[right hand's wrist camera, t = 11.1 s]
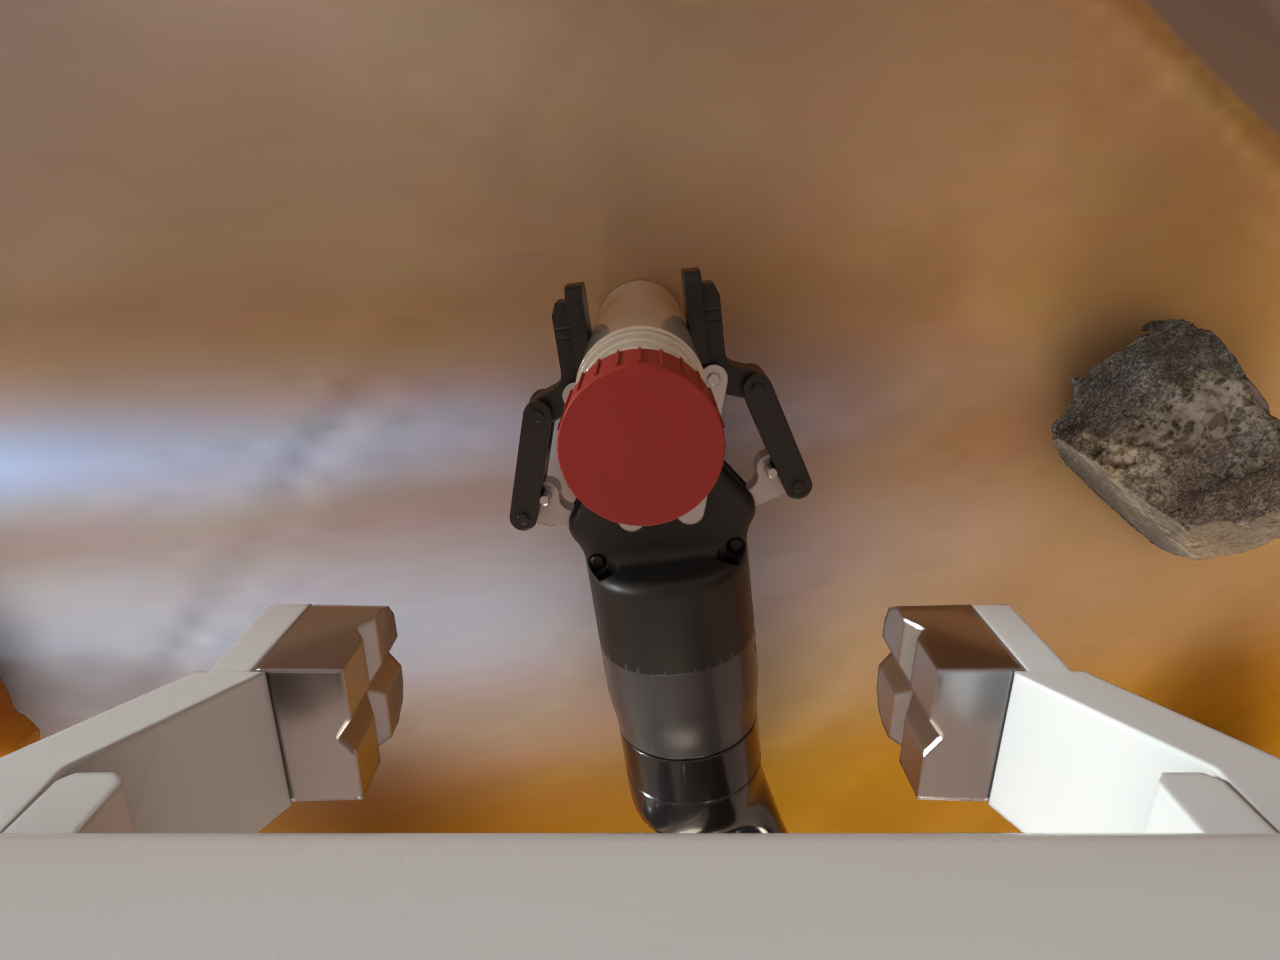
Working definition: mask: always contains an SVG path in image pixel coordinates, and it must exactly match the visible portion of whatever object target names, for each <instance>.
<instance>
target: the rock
mask: <svg viewBox="0 0 1280 960" xmlns="http://www.w3.org/2000/svg"><path fill="white" fill-rule="evenodd" d="M1142 329H1143V331H1147V330H1156V329H1157V330H1156V331H1159V332H1157V333H1152V334H1150V335H1149V334H1146V336H1145V337H1143V336H1142V337H1140V338H1138V339H1137V340H1135V341H1133V342H1131V343H1130V344H1128V346H1126V347H1127V349H1126V350H1121V351H1117V352H1115V353H1114V354H1112V356H1111V357H1109V358H1107V359H1105V360H1103V361H1101V362H1100V364H1098V365H1097V366H1095V367H1094V368H1092V369H1091V370H1090V371H1089V373H1088V374H1087V375H1086V376H1083V377H1081V378H1077V379H1076V378H1073V379H1071V382H1070V383H1071V387H1072V388H1073V390H1074V391H1073V397H1072V402H1071V404H1070V405H1069V406H1068V407H1069V408H1068V409H1067V413H1066V414H1063V415H1062V416H1061V417H1060V419H1059V420H1056V422H1055V423H1053V424H1052V433H1054V437H1053V438H1052V439H1051V440H1052V442H1053V443H1054V444H1055V446H1057V448H1058V449H1057V450H1059V451H1060V453H1059V454H1062V456H1060V457H1062V459H1063V460H1064V462H1065V463H1066V466H1068V467H1071V468H1070V469H1072V471H1074V472H1075V473H1076V474H1077V475H1078V476H1079V477H1080V478H1082V480H1084V481H1085V483H1087V484H1088V486H1089V488H1091V489H1093V490H1094V492H1095V493H1096V494H1097V495H1098V496H1100V497H1101V499H1103V500H1104V501H1105V502H1106V503H1108V505H1110V506H1111V508H1112V509H1113V510H1115V511H1116V512H1117V513H1118V514H1120V516H1122V518H1123V519H1124V520H1127V521H1128V523H1129V524H1130V525H1131V526H1133V527H1134V528H1136V530H1137V531H1139V532H1140V533H1142V534H1143V535H1145V537H1146V538H1148V539H1149V541H1150V542H1151V543H1152V544H1155V545H1156V546H1157V547H1159V548H1161V549H1163V550H1165V551H1167V552H1169V553H1172V554H1174V555H1179V556H1182V557H1187V558H1190V559H1193V560H1201V559H1212V558H1215V557H1220V556H1226V555H1231V554H1237V553H1241V552H1244V551H1248V550H1251V549H1255V548H1258V547H1261V546H1263V545H1265V544H1267V543H1269V542H1270V541H1271V540H1273V539H1274V538H1280V420H1279V419H1277V418H1276V417H1274V416H1272V415H1271V414H1270V412H1269V405H1268V404H1267V402H1266V400H1265V399H1264V398H1263V396H1262V395H1261V393H1260V392H1259V390H1258V389H1257V388H1256V387H1255V386H1254V384H1253V383H1252V382H1251V381H1250V380H1249V379H1248V378H1247V377H1246V375H1245V373H1244V371H1243V369H1242V368H1241V366H1240V365H1239V364H1238V362H1237V359H1236V358H1235V356H1234V355H1233V354H1232V353H1231V352H1229V350H1228V349H1227V347H1226V346H1225V345H1224V344H1223V342H1222V341H1221V340H1220V339H1219V338H1218V337H1217V336H1216V335H1215V334H1214V333H1213V332H1212V331H1210V330H1204V329H1198V328H1196V327H1195V325H1194V324H1193V323H1190V322H1188V321H1184V320H1182V319H1181V320H1175V319H1174V320H1170V319H1169V320H1167V321H1166V320H1165V321H1163V320H1162V321H1160V320H1158V321H1155V322H1154V321H1151V322H1149V324H1145V325H1144V326H1143V327H1142ZM1142 329H1141V330H1142ZM1160 330H1161V331H1160ZM1162 330H1164V331H1162ZM1057 435H1059V436H1058V437H1060V439H1058V438H1057ZM1185 527H1186V528H1189V530H1187V529H1186V528H1185Z"/></svg>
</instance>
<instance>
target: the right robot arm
mask: <svg viewBox="0 0 1280 960" xmlns="http://www.w3.org/2000/svg"><path fill="white" fill-rule="evenodd" d="M396 638H397V630H396V624H395V618H394V613H393V612H392V611H391V609H390V608H389V606H354V605H311V604H289V605H273V606H269V607H268V608H267V609H266V610H265V611H264V612H263V613H262V614H261V615H260V616H259V617H258V619H257V620H256V621H255V622H254V623H253V624H252V625H251V626H250V627H249V628H248V629H247V630H246V631H245V633H244V634H243V635H242V636H241V637H240V638H239V639H238V640H237V641H236V642H235V643H234V644H233V645H232V646H231V648H230V649H229V650H228V651H227V652H226V653H225V654H224V655H223V656H222V657H221V658H220V659H219V660H218V662H217V663H216V664H215V665H214V666H213V667H212V668H211V669H210V670H209V671H195V672H193V673H191V674H189V675H186V676H184V677H182V678H180V679H177V680H175V681H173V682H171V683H168V684H166V685H164V686H162V687H159V688H157V689H155V690H153V691H150V692H148V693H146V694H144V695H141V696H139V697H137V698H134V699H132V700H130V701H128V702H125V703H123V704H121V705H119V706H116V707H114V708H112V709H110V710H107V711H105V712H103V713H101V714H98V715H96V716H94V717H92V718H89V719H87V720H85V721H83V722H80V723H78V724H76V725H73V726H71V727H69V728H67V729H64V730H62V731H60V732H58V733H55V734H53V735H51V736H49V737H46V738H44V739H42V740H40V741H37V742H35V743H33V744H31V745H28V746H26V747H24V748H22V749H19V750H17V751H15V752H12V753H10V754H8V755H6V756H3V757H1V758H0V960H1280V758H1278V757H1276V756H1274V755H1271V754H1269V753H1267V752H1265V751H1262V750H1260V749H1258V748H1256V747H1253V746H1251V745H1249V744H1247V743H1244V742H1242V741H1240V740H1238V739H1235V738H1233V737H1231V736H1229V735H1226V734H1224V733H1222V732H1220V731H1217V730H1215V729H1213V728H1211V727H1208V726H1206V725H1204V724H1202V723H1199V722H1197V721H1195V720H1193V719H1190V718H1188V717H1186V716H1184V715H1181V714H1179V713H1177V712H1175V711H1172V710H1170V709H1168V708H1166V707H1163V706H1161V705H1159V704H1157V703H1154V702H1152V701H1150V700H1148V699H1145V698H1143V697H1141V696H1139V695H1136V694H1134V693H1132V692H1130V691H1127V690H1125V689H1123V688H1121V687H1118V686H1116V685H1114V684H1112V683H1109V682H1107V681H1105V680H1103V679H1100V678H1098V677H1096V676H1094V675H1091V674H1089V673H1087V672H1085V671H1071V670H1070V669H1069V668H1068V667H1067V666H1066V665H1065V664H1064V663H1063V662H1062V660H1061V659H1060V658H1059V657H1058V656H1057V655H1056V654H1055V653H1054V652H1053V651H1052V650H1051V649H1050V648H1049V646H1048V645H1047V644H1046V643H1045V642H1044V641H1043V640H1042V639H1041V638H1040V637H1039V636H1038V635H1037V634H1036V632H1035V631H1034V630H1033V629H1032V628H1031V627H1030V626H1029V625H1028V624H1027V623H1026V622H1025V621H1024V620H1023V618H1022V617H1021V616H1020V615H1019V614H1018V613H1017V612H1016V611H1015V610H1014V609H1013V608H1012V607H1011V606H1008V605H1005V604H986V605H937V606H896V607H891V608H889V609H888V612H887V615H886V618H885V622H884V629H883V638H884V640H885V642H886V643H887V645H888V647H889V649H890V651H891V653H890V654H889V655H888V656H887V657H886V658H885V659H884V660H883V661H882V663H881V664H880V665H879V669H878V680H877V697H878V709H879V713H880V716H881V720H882V724H883V726H884V728H885V731H886V733H887V735H888V737H889V738H891V739H892V740H894V741H895V742H897V743H898V744H900V745H901V753H900V763H901V765H902V767H903V770H904V772H905V774H906V776H907V778H908V780H909V782H910V784H911V786H912V789H913V791H914V793H915V795H916V797H917V799H918V800H949V801H986V802H989V805H990V806H991V807H992V808H993V809H994V810H996V811H997V812H998V813H999V814H1001V815H1002V816H1003V817H1004V818H1006V819H1007V820H1008V821H1009V822H1010V823H1012V824H1013V825H1014V826H1015V827H1017V828H1018V829H1019V830H1020V831H1021V832H1023V833H258V832H259V831H260V830H261V829H263V828H264V827H265V826H266V825H267V824H269V823H270V822H271V821H272V820H274V819H275V818H276V817H277V816H279V815H280V814H281V813H282V812H283V811H285V810H286V809H287V808H288V807H290V806H291V802H294V801H330V800H362V799H363V797H364V795H365V793H366V791H367V789H368V787H369V784H370V782H371V780H372V778H373V776H374V774H375V772H376V770H377V768H378V765H379V763H380V753H379V745H380V744H382V743H383V742H385V741H386V740H388V739H389V738H391V737H392V735H393V733H394V731H395V728H396V726H397V724H398V721H399V716H400V711H401V706H402V701H403V677H402V669H401V665H400V664H399V663H398V661H397V660H396V659H395V658H394V657H393V656H392V655H391V654H390V653H389V651H390V649H391V647H392V645H393V643H394V642H395V640H396Z"/></svg>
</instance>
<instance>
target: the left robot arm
mask: <svg viewBox="0 0 1280 960" xmlns="http://www.w3.org/2000/svg"><path fill="white" fill-rule="evenodd" d="M681 276H682V285H683V295H684V304H685V314H686V324H687V328H688V330H689V333H690V336H691V338H692V341H693V344H694V346H695V349H696V351H697V354H698V357H699V359H700V362H701V365H702V367H703V370H704V374H705V378H706V384H707V387H708V388H709V387H710V388H711V390H712V392H713V395H714V398H715V400H716V403H717V405H718V406H717V407H718V410H719V412H720V415H721V413H722V408H723V403H724V398H725V394H728V395H732V396H737V397H741V398H744V399H745V401H746V403H747V406H748V408H749V410H750V413H751V415H752V417H753V420H754V422H755V425H756V427H757V429H758V432H759V434H760V436H761V439H762V441H763V443H764V446H765V448H766V449H763V450H761V451H759V452H758V453H757V454H756V456H755V458H754V467H755V473H754V476H753V477H752V479H751V480H750V481H748V482H745V481H744V480H743V479H742V478H741V477H740V476H739V475H738V474H737V473H736V472H735V471H734V470H733V469H732V468H731V467H730V466H729V465H728V463H727V462H726V461H725V460H724V462H723V466H722V469H721V472H720V475H719V477H718V479H717V481H716V483H715V485H714V487H713V488H712V490H711V491H710V492H709V494H708V495H707V496H706V498H705V499H704V500H703V501H702V502H701V503H700V504H699V505H698V506H696V507H695V508H694V509H692V510H691V511H690V512H688V513H686V514H685V515H683V516H681V517H679V518H677V519H674V520H672V521H669V522H666V523H663V524H658V525H652V526H630V525H625V524H620V523H616V522H613V521H610V520H608V519H606V518H603V517H601V516H599V515H598V514H596V513H594V512H593V511H591V510H590V509H589V508H587V507H586V506H585V505H584V504H583V503H582V502H581V501H580V500H579V499H578V498H576V500H575V502H574V503H570V502H568V501H567V500H566V499H565V498H564V497H563V495H562V492H561V484H560V482H559V481H558V479H556V478H555V477H553V476H548V475H547V471H548V464H549V458H550V451H551V444H552V437H553V430H554V423H555V421H556V420H558V419H560V418H561V417H562V414H563V411H564V406H565V403H566V400H567V398H568V395H569V392H570V390H571V389H572V390H573V389H574V387H575V384H576V378H577V373H578V370H579V367H580V364H581V362H582V359H583V356H584V353H585V351H586V348H587V345H588V343H589V340H590V337H591V335H592V329H591V323H590V316H589V309H588V303H587V296H586V290H585V285H584V282H578V283H571V284H567V285H566V286H565V288H564V292H565V299H559V300H557V302H556V303H555V305H554V310H553V314H552V320H553V326H554V331H555V338H556V344H557V350H558V356H559V362H560V368H561V380H560V381H559V382H557V383H556V384H554V385H552V386H550V387H548V388H546V389H539V390H537V391H536V392H535V393H534V394H533V395H532V397H531V399H530V402H529V403H528V404H527V406H526V408H525V410H524V412H523V419H522V427H521V435H520V442H519V450H518V457H517V465H516V473H515V480H514V488H513V495H512V503H511V511H510V522H511V524H512V525H513V526H514V527H515V528H516V529H519V530H529V529H531V528H533V527H534V526H535V524H536V523H537V524H544V525H550V526H556V527H562V528H568V529H570V532H571V534H572V536H573V538H574V539H575V540H576V541H577V542H578V544H579V545H580V546H581V548H582V549H583V551H584V554H585V557H586V561H587V567H588V573H589V579H590V585H591V591H592V597H593V602H594V608H595V614H596V620H597V626H598V632H599V638H600V644H601V650H602V656H603V661H604V667H605V673H606V679H607V684H608V689H609V694H610V697H611V700H612V703H613V706H614V709H615V712H616V715H617V718H618V722H619V726H620V733H621V739H622V745H623V751H624V757H625V763H626V768H627V774H628V780H629V786H630V791H631V795H632V798H633V801H634V804H635V807H636V809H637V811H638V813H639V815H640V816H641V818H642V819H643V820H644V821H645V823H646V824H647V825H648V826H649V827H650V828H652V829H653V830H655V831H656V832H658V833H788V831H787V829H786V827H785V825H784V823H783V821H782V818H781V816H780V814H779V811H778V809H777V806H776V803H775V801H774V798H773V796H772V793H771V791H770V788H769V785H768V783H767V780H766V778H765V775H764V772H763V769H762V766H761V753H760V742H759V731H758V720H757V710H756V698H757V686H758V663H757V652H756V641H755V630H754V617H753V606H752V595H751V583H750V572H749V561H748V549H747V531H748V528H749V525H750V523H751V521H752V519H753V517H754V514H755V507H756V506H759V505H761V504H763V503H766V502H768V501H771V500H773V499H775V498H778V497H780V496H783V495H785V494H787V495H788V496H790V497H791V498H794V499H801V498H804V497H805V496H807V495H808V494H809V493H810V491H811V489H812V482H811V479H810V476H809V474H808V472H807V469H806V467H805V464H804V462H803V459H802V457H801V455H800V452H799V450H798V447H797V445H796V442H795V440H794V437H793V435H792V433H791V430H790V428H789V425H788V423H787V420H786V418H785V416H784V413H783V411H782V408H781V406H780V403H779V401H778V398H777V396H776V394H775V391H774V389H773V386H772V384H771V382H770V380H769V379H768V377H767V376H766V375H765V373H764V372H763V371H762V369H761V368H760V367H759V366H758V365H756V364H752V363H749V364H744V363H740V362H735V361H732V360H730V359H729V358H727V357H726V356H725V350H724V338H723V327H722V316H721V305H720V295H719V293H718V291H717V289H716V287H715V285H714V283H713V282H712V281H711V280H707V281H701V273H700V269H699V268H698V267H695V268H687V269H681Z"/></svg>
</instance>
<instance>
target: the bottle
mask: <svg viewBox="0 0 1280 960" xmlns="http://www.w3.org/2000/svg"><path fill="white" fill-rule="evenodd" d="M638 347H641V348H644V349H654V350H659V351H660V349H663V352H666V353H668V354H671V355H673V356H675V357H677V358H680V357H682V358H683V361H684V362H685V363H687V364H688V365H690V366H691V367H692V368H693V369H694V370H695V371H697V370H698V371H699V372H700V375H701V378H702V379H703V380H704V382H705V384H706V378H705V374H704V370H703V367H702V365H701V362H700V359H699V357H698V354H697V351H696V349H695V346H694V344H693V341H692V338H691V336H690V333H689V330H688V328H687V325H686V323H685V320H684V317H683V315H682V312H681V309H680V307H679V305H678V303H677V301H676V299H675V298H674V297H673V295H672V294H671V293H670V292H669V291H668V290H667V289H665V288H664V287H662V286H661V285H659V284H656V283H654V282H650V281H644V280H637V281H631V282H628V283H625V284H623V285H621V286H619V287H617V288H616V289H615V290H613V291H612V292H611V293H610V294H609V296H608V297H607V298H606V300H605V301H604V303H603V305H602V307H601V310H600V313H599V316H598V318H597V321H596V324H595V326H594V329H593V332H592V335H591V337H590V340H589V343H588V345H587V348H586V351H585V353H584V356H583V359H582V362H581V364H580V367H579V370H578V373H577V378H576V384H577V382H578V381H579V379H580V376H581V373H582V372H584V373H585V372H586V371H587V370H588V369H589V368H590V367H592V366H593V365H594V364H595V363H596V362H597V359H599V358H600V359H603V358H605V357H607V356H609V355H611V354H613V353H616V352H617V350H620V351H623V350H629V349H638ZM576 384H575V385H576ZM706 385H707V384H706Z"/></svg>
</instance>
